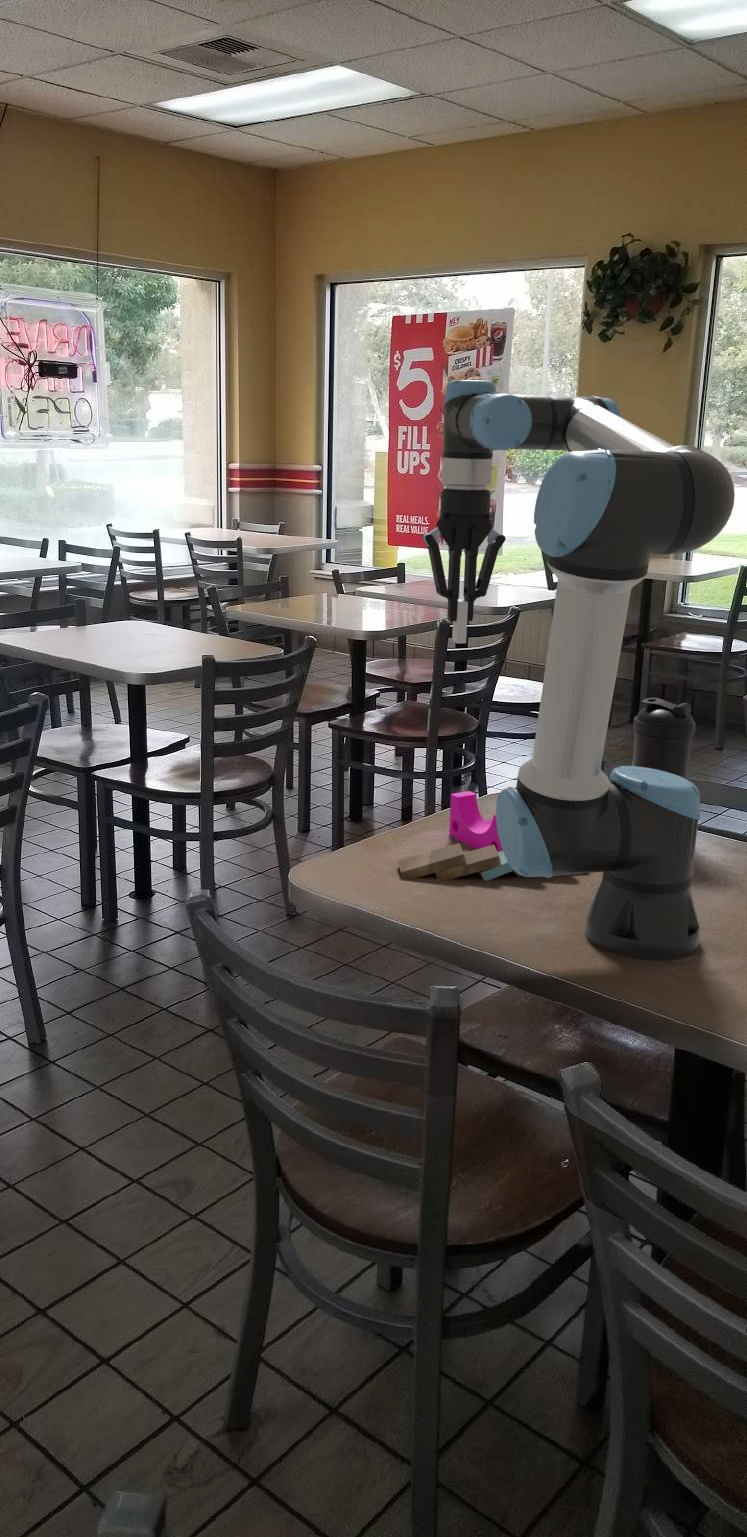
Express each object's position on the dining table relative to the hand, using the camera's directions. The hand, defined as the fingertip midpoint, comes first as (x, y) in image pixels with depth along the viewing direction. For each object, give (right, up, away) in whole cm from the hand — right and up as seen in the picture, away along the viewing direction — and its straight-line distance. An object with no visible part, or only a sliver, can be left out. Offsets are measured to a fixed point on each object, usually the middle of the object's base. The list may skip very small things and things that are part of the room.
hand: (459, 641), depth 189 cm
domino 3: (+3, -36, -3) cm, 36 cm away
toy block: (+6, -33, +12) cm, 36 cm away
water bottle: (+35, -31, +21) cm, 52 cm away
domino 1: (-9, -36, -3) cm, 37 cm away
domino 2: (-4, -36, -3) cm, 36 cm away
